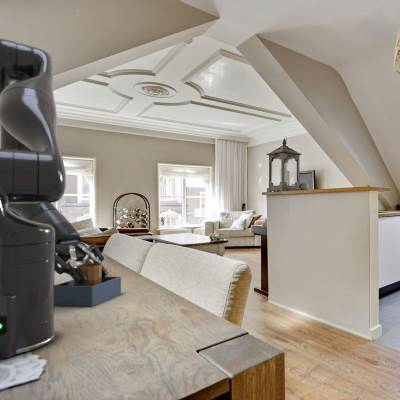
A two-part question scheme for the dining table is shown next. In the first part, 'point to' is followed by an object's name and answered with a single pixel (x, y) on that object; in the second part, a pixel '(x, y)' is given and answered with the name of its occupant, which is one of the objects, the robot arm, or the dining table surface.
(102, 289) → the bin
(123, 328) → the dining table surface
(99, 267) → the brown cup
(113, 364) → the dining table surface
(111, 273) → the seashell
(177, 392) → the dining table surface
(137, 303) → the dining table surface
